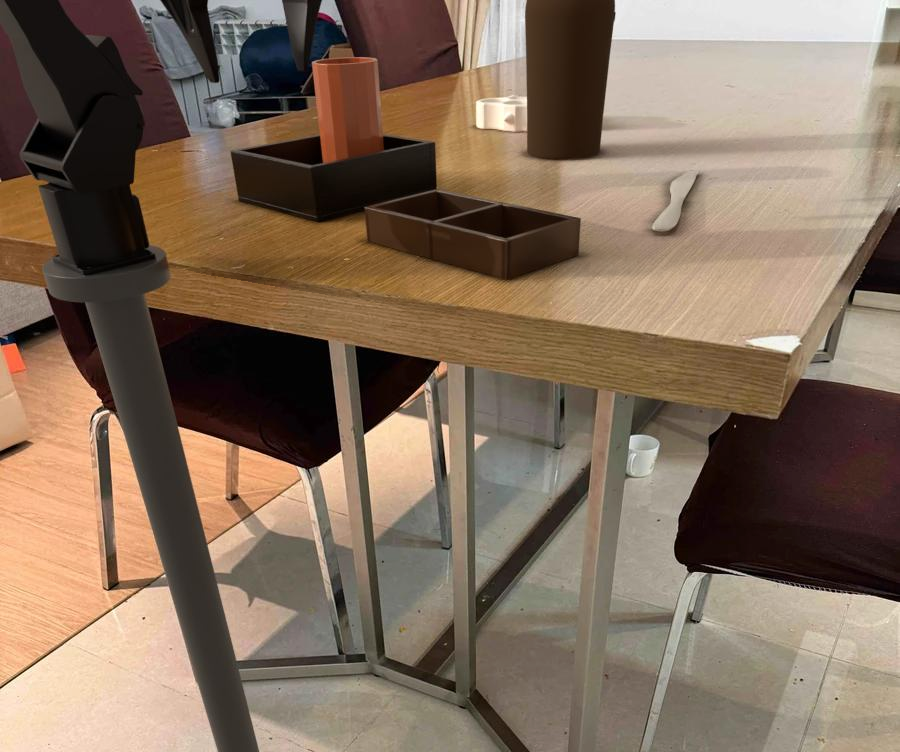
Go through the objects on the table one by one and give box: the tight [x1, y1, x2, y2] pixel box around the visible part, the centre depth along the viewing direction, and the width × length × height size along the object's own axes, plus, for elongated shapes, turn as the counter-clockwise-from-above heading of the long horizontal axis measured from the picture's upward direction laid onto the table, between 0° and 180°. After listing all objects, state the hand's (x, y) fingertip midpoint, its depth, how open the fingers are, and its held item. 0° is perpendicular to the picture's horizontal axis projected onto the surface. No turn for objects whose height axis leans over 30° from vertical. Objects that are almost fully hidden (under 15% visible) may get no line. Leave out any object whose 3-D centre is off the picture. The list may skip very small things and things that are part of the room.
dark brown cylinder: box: [524, 0, 617, 160], centre depth 101 cm, size 11×11×25 cm
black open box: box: [230, 133, 438, 223], centre depth 92 cm, size 17×15×5 cm
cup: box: [311, 56, 384, 163], centre depth 91 cm, size 7×7×12 cm
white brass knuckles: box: [475, 94, 527, 133], centre depth 125 cm, size 3×18×15 cm
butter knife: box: [651, 169, 700, 232], centre depth 87 cm, size 1×27×3 cm
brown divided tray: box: [364, 188, 582, 280], centre depth 75 cm, size 9×18×3 cm, turn 44°
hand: (260, 76), depth 74 cm, fingers open, 9 cm apart
